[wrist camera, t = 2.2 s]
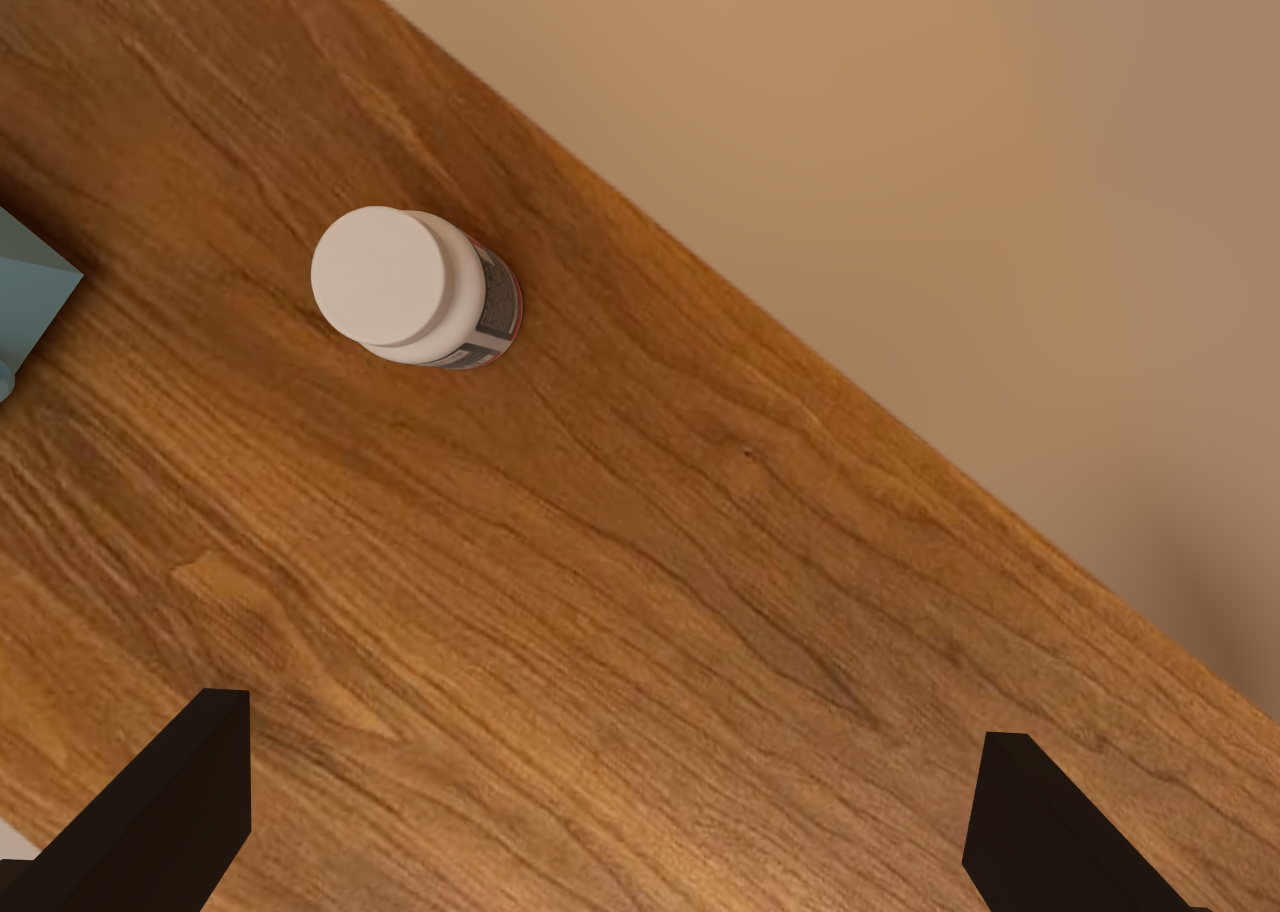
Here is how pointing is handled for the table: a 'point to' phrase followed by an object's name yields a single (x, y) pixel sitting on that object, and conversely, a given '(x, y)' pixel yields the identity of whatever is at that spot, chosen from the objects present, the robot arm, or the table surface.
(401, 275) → the pill bottle
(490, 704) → the table surface
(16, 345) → the teapot
